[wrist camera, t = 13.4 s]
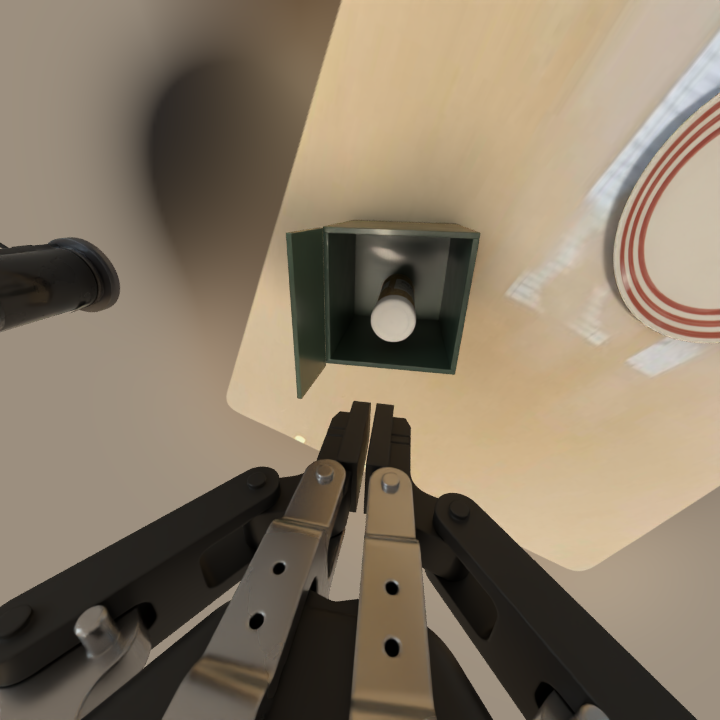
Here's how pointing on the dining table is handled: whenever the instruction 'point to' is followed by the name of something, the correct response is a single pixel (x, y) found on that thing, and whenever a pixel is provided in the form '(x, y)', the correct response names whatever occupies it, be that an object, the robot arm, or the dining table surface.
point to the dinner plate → (675, 234)
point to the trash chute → (364, 282)
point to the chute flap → (307, 304)
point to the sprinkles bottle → (394, 309)
